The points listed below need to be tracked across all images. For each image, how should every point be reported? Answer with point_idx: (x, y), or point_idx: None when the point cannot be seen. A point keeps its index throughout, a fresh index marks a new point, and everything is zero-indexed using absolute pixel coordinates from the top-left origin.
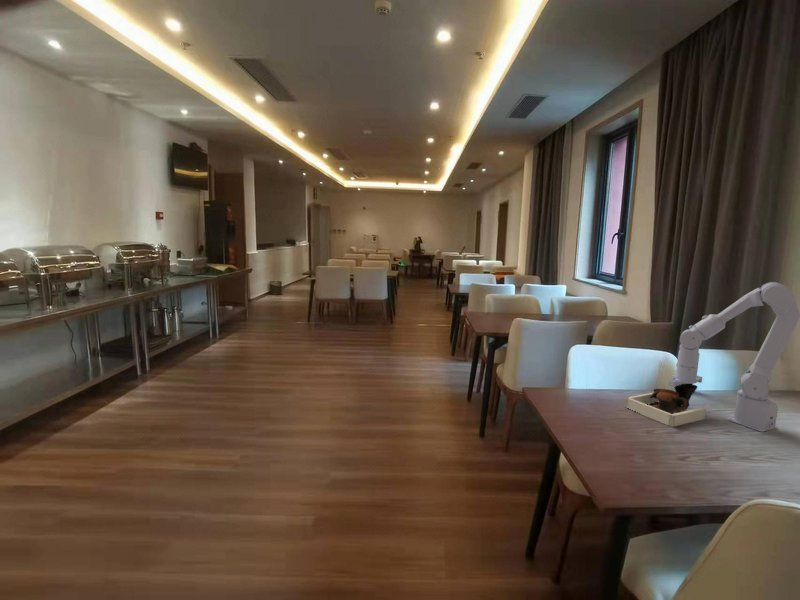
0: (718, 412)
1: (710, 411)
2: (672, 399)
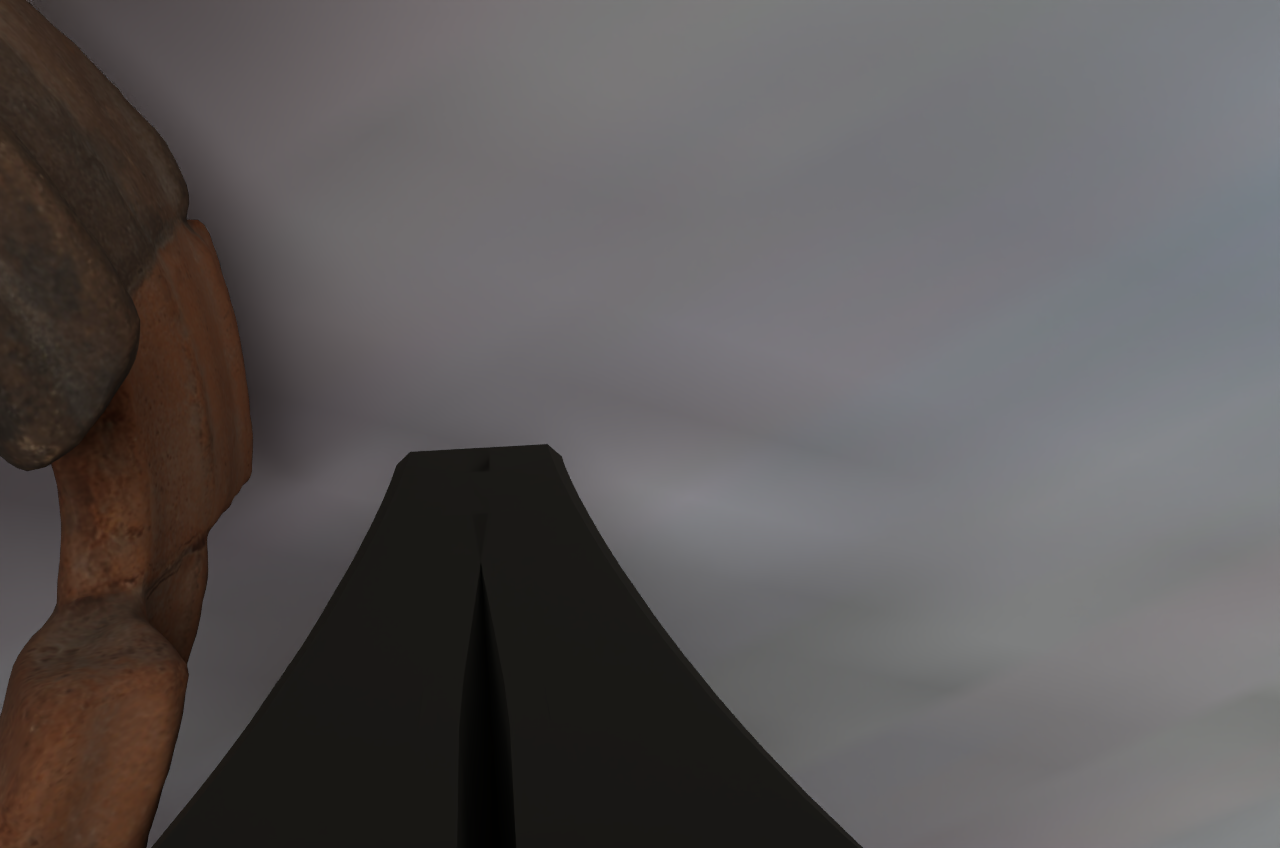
0: (1210, 805)
1: (1114, 734)
2: (89, 438)
